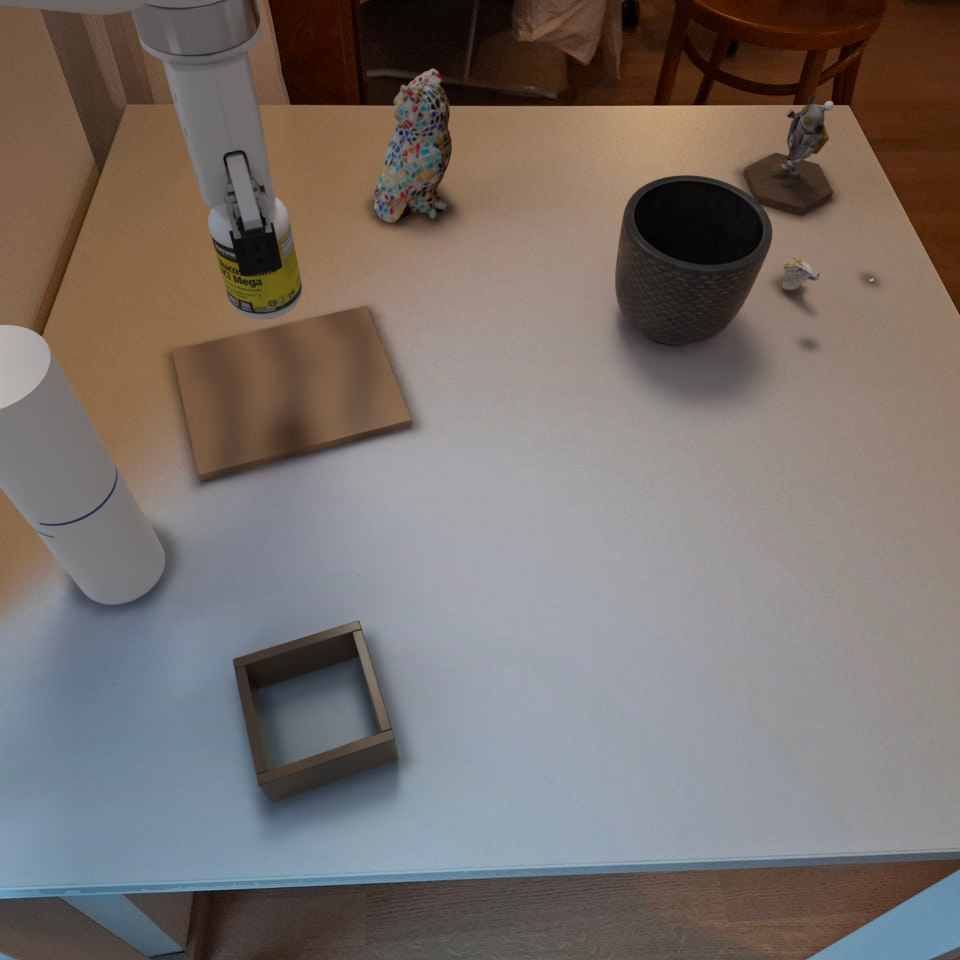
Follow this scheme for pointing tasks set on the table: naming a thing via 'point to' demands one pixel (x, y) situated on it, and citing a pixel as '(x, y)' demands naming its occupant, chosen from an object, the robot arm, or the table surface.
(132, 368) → the table surface
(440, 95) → the figurine
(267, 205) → the pill bottle
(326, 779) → the holder
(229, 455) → the board
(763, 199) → the robot figurine
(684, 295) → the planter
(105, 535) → the cylindrical container
